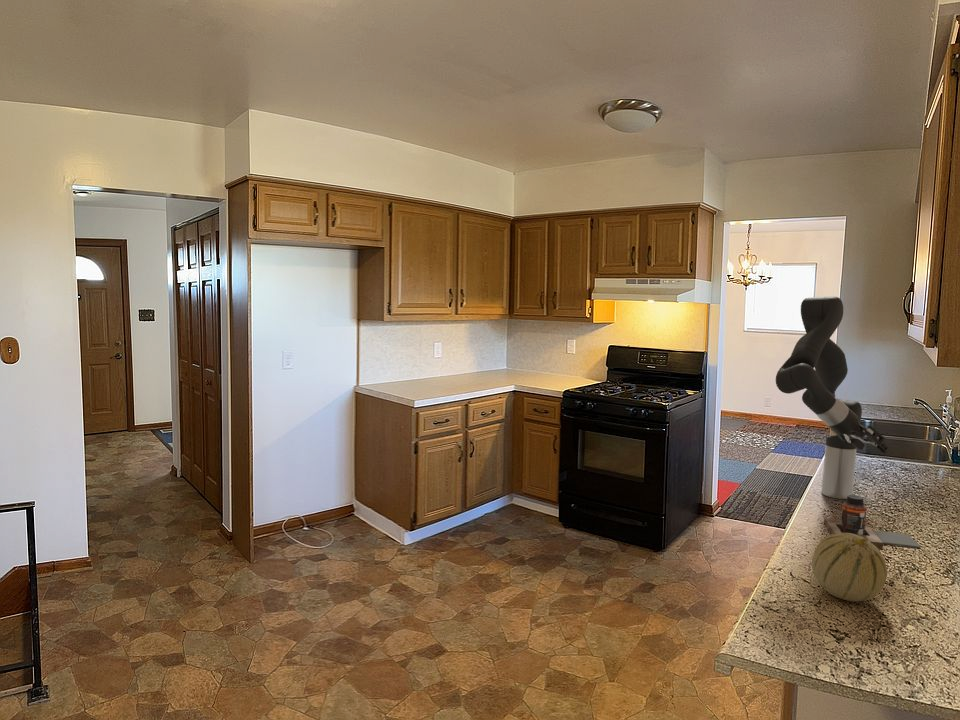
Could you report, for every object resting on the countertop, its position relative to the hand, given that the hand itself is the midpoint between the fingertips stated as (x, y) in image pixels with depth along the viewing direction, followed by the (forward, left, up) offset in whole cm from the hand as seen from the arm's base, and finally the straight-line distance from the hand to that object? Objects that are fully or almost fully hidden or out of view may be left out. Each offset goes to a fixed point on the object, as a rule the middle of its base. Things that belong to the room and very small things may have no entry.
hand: (874, 449), depth 181 cm
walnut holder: (+5, -5, -24) cm, 25 cm away
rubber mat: (+5, +6, -24) cm, 26 cm away
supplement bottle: (+5, -5, -25) cm, 26 cm away
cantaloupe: (+48, -17, -25) cm, 57 cm away
